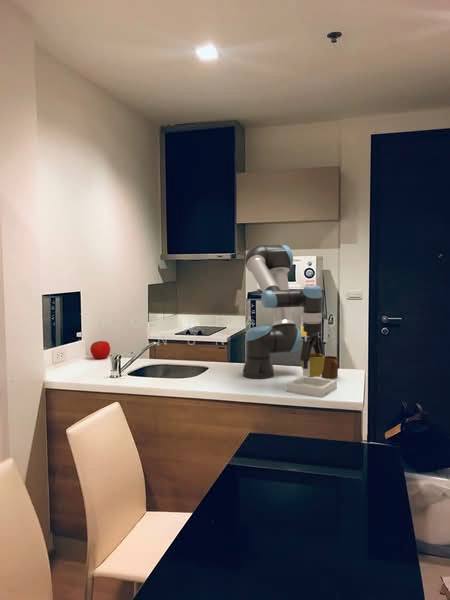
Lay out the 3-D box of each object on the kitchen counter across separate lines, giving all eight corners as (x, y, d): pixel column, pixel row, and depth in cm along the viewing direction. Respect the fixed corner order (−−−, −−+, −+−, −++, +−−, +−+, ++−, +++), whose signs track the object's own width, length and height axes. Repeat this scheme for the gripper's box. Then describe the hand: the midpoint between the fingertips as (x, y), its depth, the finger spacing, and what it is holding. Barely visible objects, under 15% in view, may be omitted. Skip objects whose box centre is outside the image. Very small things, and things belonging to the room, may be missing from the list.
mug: (344, 380, 232) (345, 360, 232) (329, 381, 231) (329, 361, 230) (333, 374, 244) (333, 355, 243) (318, 375, 242) (318, 356, 241)
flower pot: (304, 378, 211) (304, 357, 210) (299, 374, 219) (299, 353, 219) (325, 378, 211) (325, 357, 211) (319, 373, 220) (319, 353, 219)
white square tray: (286, 391, 214) (286, 383, 213) (302, 383, 227) (302, 376, 227) (322, 397, 205) (322, 388, 205) (336, 388, 218) (336, 380, 218)
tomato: (114, 356, 294) (113, 338, 294) (105, 360, 282) (104, 342, 281) (96, 355, 297) (95, 338, 296) (86, 360, 284) (85, 342, 283)
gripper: (309, 326, 202) (308, 380, 203) (331, 320, 221) (331, 369, 223) (292, 325, 206) (292, 377, 207) (315, 319, 226) (315, 367, 227)
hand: (312, 373), depth 215 cm, fingers closed on flower pot, 11 cm apart
